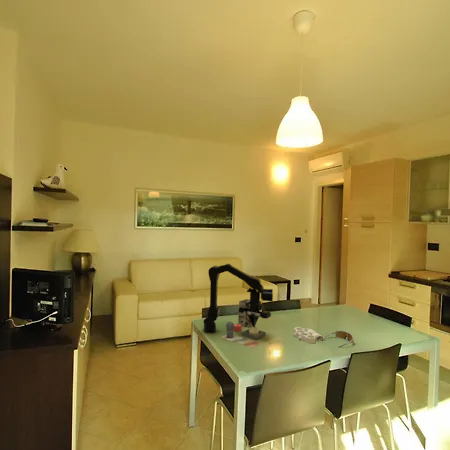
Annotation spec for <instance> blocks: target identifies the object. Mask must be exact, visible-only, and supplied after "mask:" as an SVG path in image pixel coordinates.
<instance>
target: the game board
mask: <svg viewBox="0 0 450 450" xmlns="http://www.w3.org/2000/svg"><path fill="white" fill-rule="evenodd" d="M220 338H221V339H224V340H228V341H231V342H233V343H237V344H240V345H243V346H246V347H249V348H255V347H257V346H258V345H260V344H261V341H260V342H259V341H257V340H254V339H250V338H247V337H244V336H238V335H236V334H233V338H227V337H226V334H225V335H223V336H221V337H220Z"/></svg>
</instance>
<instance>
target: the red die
mask: <svg viewBox="0 0 450 450" xmlns="http://www.w3.org/2000/svg"><path fill="white" fill-rule="evenodd" d="M242 330H243V326H242V325H239V324H238V323H235V324H234V332H238V333H240V332H241V331H242Z"/></svg>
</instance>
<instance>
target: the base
mask: <svg viewBox="0 0 450 450" xmlns="http://www.w3.org/2000/svg"><path fill="white" fill-rule="evenodd" d="M249 329H250V328H248V329H246V330H244V331H242V332H241V337H243V338H246V339H250V340H253V341H258V340H260V339H261V338H263V337H265V336H266V331H263V330H260V329H258V330H259V334H257V335H253V334H250V333H249Z"/></svg>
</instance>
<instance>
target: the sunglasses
mask: <svg viewBox="0 0 450 450" xmlns="http://www.w3.org/2000/svg"><path fill="white" fill-rule="evenodd" d="M330 335H335V338H339V339H343V340H346V339H347V341H348V342H347V343H343V344H342V345H339V346H338V348H341V347H344V346H347V345H349V344H351V345H354V341H355V339H354V336H353V334H352V333H351V332H349V331H346V330H335V331H332V332H330V333H328V334H326V335H325V336H324V337H323V340H322V341H323V342H324V341H326V340H325V339H326V338H327V337H328V336H330Z"/></svg>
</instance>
